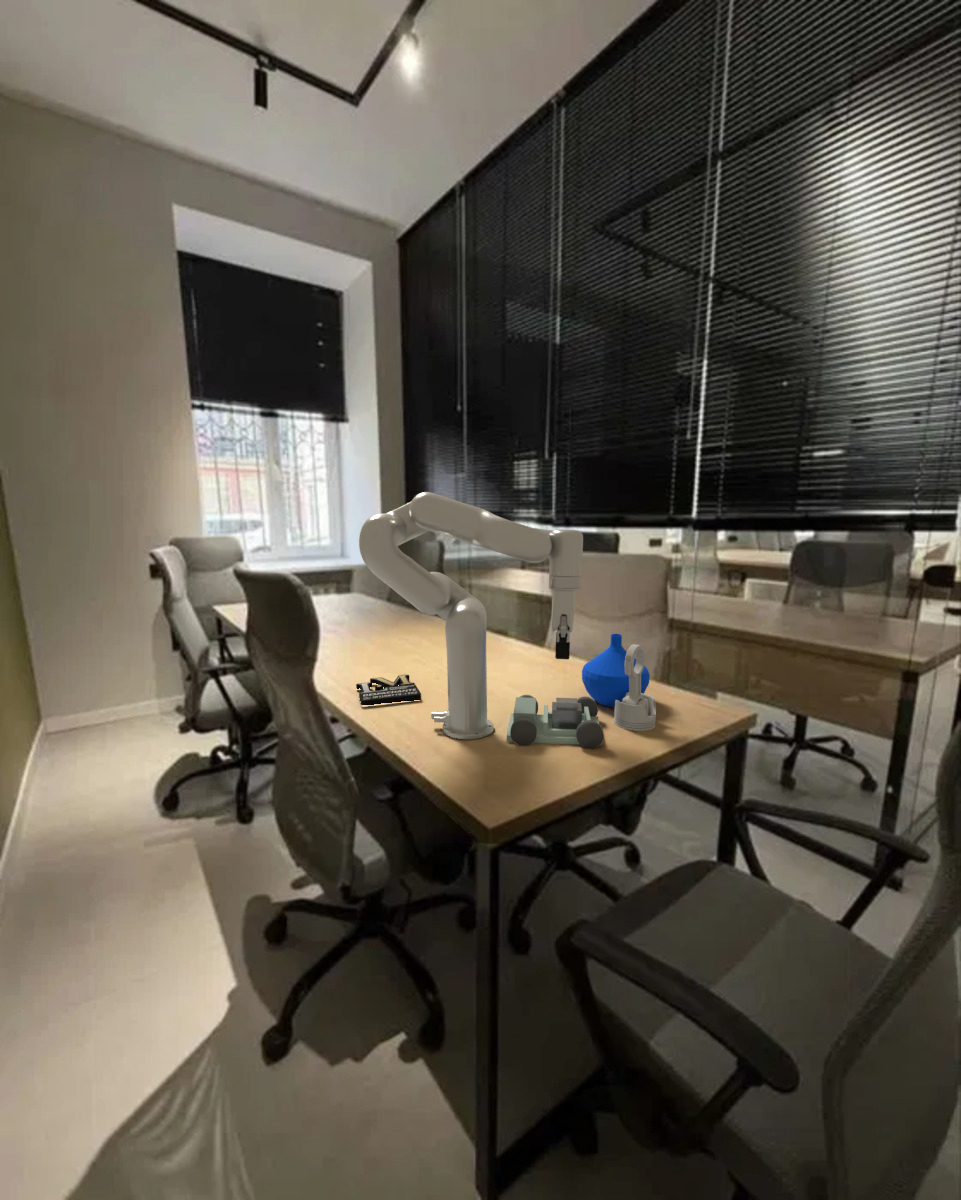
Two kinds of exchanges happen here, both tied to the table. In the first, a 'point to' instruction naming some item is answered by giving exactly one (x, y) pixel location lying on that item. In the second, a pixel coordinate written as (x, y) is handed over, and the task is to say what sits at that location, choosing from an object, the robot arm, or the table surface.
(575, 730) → the chassis
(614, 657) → the vase
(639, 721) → the engine component
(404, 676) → the decorative sign
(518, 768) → the table surface
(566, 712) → the block
